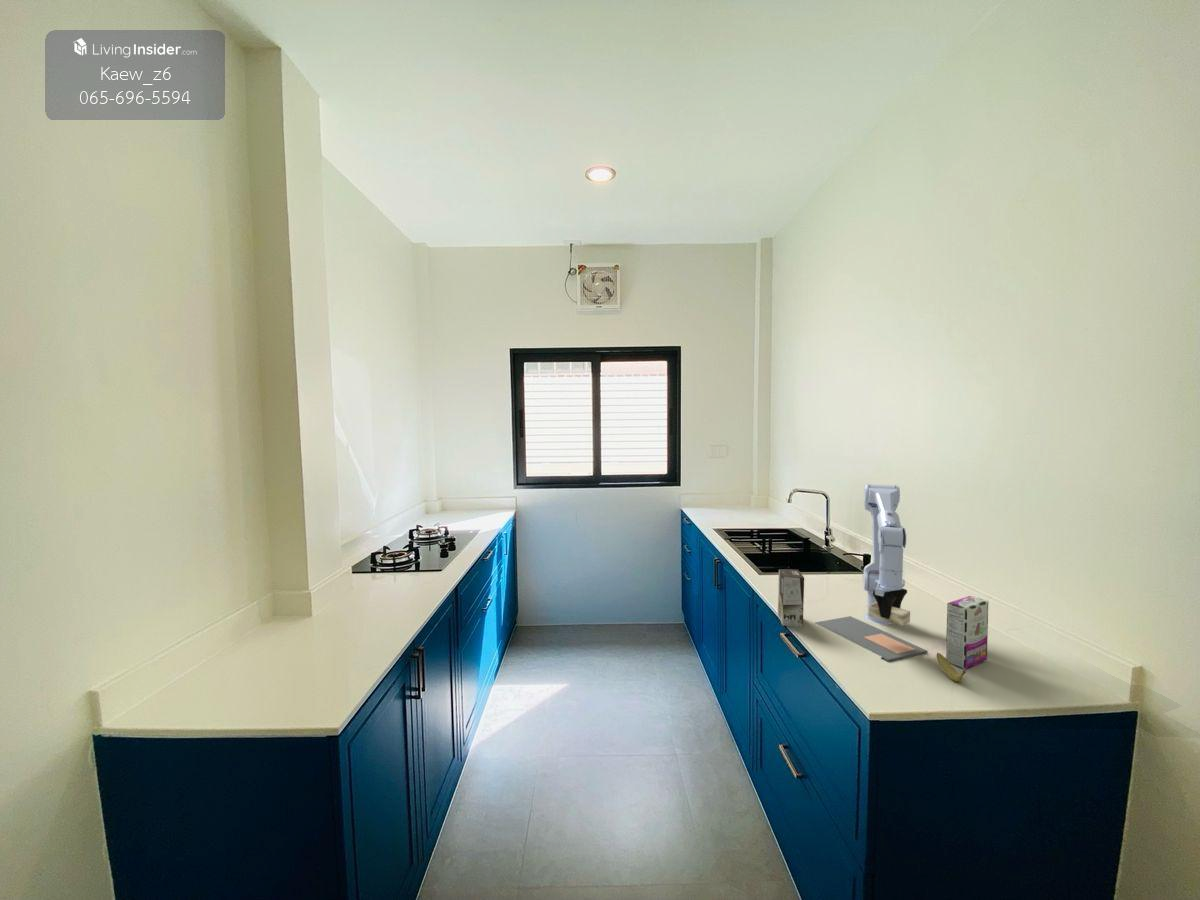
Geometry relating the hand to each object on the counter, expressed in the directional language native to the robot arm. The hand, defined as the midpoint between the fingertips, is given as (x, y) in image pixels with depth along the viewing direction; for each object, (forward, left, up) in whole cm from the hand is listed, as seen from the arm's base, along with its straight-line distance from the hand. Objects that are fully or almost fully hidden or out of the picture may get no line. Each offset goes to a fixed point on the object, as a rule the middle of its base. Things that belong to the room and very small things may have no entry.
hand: (889, 615), depth 141 cm
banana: (+1, +18, -9) cm, 20 cm away
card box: (0, 0, -1) cm, 1 cm away
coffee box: (+15, -23, -9) cm, 29 cm away
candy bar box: (-11, +14, -9) cm, 20 cm away
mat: (+2, -6, -9) cm, 10 cm away
